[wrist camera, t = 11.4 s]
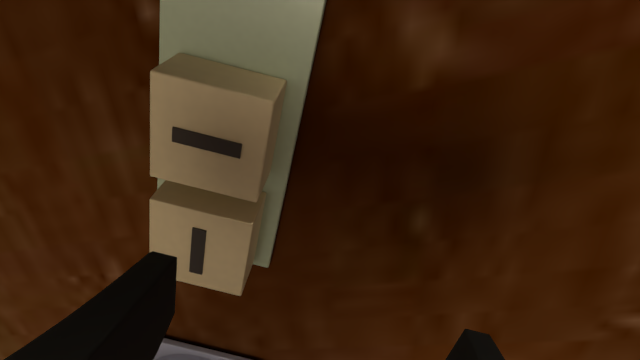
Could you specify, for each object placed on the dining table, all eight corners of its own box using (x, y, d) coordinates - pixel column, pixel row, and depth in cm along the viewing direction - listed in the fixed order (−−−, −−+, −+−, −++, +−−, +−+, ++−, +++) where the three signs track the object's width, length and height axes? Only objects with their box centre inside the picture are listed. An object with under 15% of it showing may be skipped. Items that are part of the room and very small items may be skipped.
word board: (270, 260, 22) (255, 306, 20) (161, 233, 22) (131, 275, 19) (344, -86, 14) (337, -89, 11) (169, -133, 14) (117, -148, 11)
